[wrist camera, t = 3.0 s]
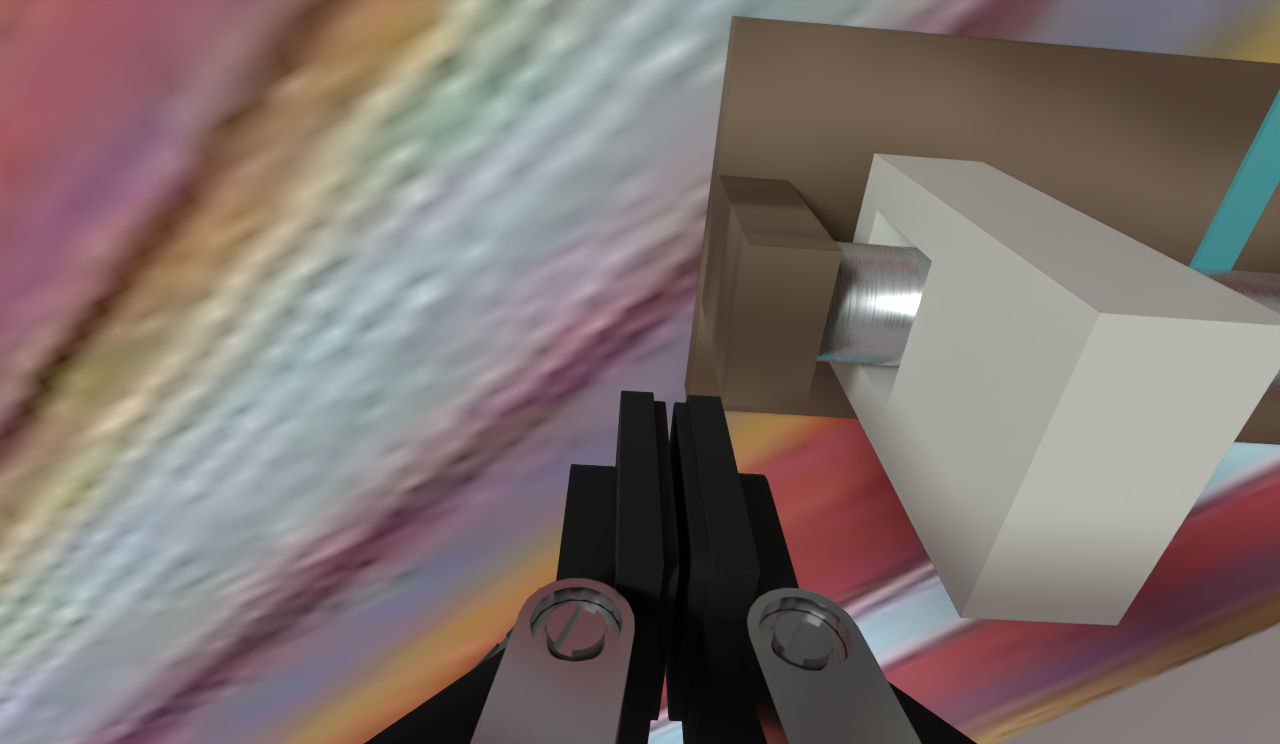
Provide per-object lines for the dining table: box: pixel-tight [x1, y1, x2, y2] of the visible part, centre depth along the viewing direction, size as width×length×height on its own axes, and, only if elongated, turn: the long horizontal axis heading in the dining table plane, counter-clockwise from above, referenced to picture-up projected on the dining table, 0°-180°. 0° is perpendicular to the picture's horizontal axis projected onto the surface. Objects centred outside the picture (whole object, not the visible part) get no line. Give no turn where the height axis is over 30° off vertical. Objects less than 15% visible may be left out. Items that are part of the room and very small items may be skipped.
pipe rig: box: [685, 16, 1280, 445], centre depth 19 cm, size 12×22×8 cm, turn 86°
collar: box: [829, 153, 1280, 625], centre depth 15 cm, size 6×3×10 cm, turn 176°
